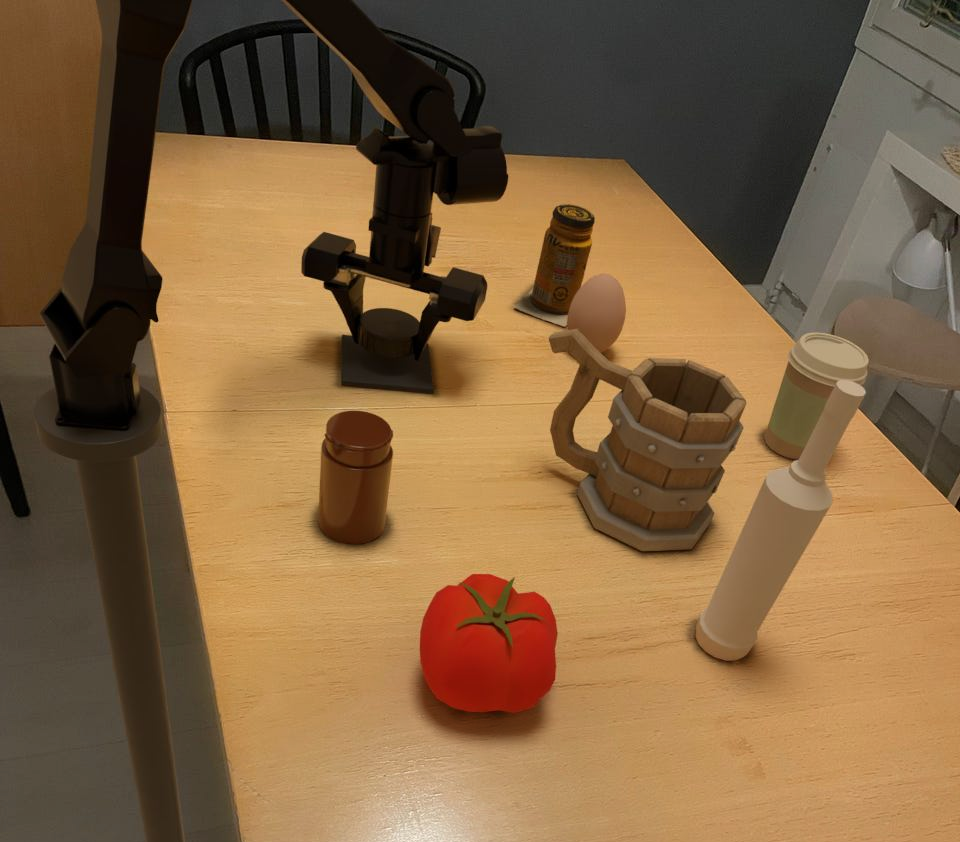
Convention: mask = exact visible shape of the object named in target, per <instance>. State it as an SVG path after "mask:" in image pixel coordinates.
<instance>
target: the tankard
mask: <svg viewBox="0 0 960 842" xmlns="http://www.w3.org/2000/svg"><path fill="white" fill-rule="evenodd" d="M548 342H549V345H550V348H551V352H552V353H554V354H560V353H566V352H569V354H570V355H571V356H572V357H573V358H574V360H575V361H576V363H577V364H578V368H577V370H576V374H575V376H574V379H573V381H572V384H571V386H570V389H569V390H568V392H567V393H566V394H565V396H564V397H563V398H562V400H561V401H560V403H558V405H557V406H556V407H555V409H554V410H553V414H552V418H551V423H550V428H549V432H550V436H551V440H552V444H553V448H554V452H555V456H556V457H558V458H559V459H561V460H562V461H564V462H565V463H567V464H569V465H570V466H571V467H573V468H574V469H576V470H578V471H582V472H584V473H587V475H586V476H585V477H584V478H583V479H582V480H581V482H579V485H578V489H577V492H576V495H577V496H578V499H579V500H580V502H581V505H582V506H583V508H584V510H585V513H586V514H587V516H588V518H589V520H590V523H591V525H592V527H593V528H594V529H596V530H597V531H600V532H602V533H603V534H606V535H608V536H610V537H612V538H613V539H616V540H618V541H620V542H622V543H624V544H626V545H628V546H630V547H631V548H634V549H636V550H638V551H640V552H656V551H657V552H660V551H681V550H692V549H693V548H694V547H695V545H696V544H697V542H698V541H699V540H700V538H701V536H702V535H703V534H704V533H705V531H706V530H707V529H708V527H709V526H710V524H711V522H712V520H713V518H714V516H715V512H714V509H713V508H712V507H711V505H710V503H709V501H710V499H711V498H712V496H713V495H714V494H716V493H717V491H718V488H719V486H720V483H721V481H722V479H723V476H724V474H725V472H726V470H725V468H724V467H723V466H722V465H723V464H724V462H725V461H726V460H727V458H728V457H729V455H730V454H732V452H734V451H735V450H736V447H737V444H738V442H739V439H740V438H741V435H742V432H743V430H744V428H745V427H744V425H743V424H742V422H741V418H742V415H743V413H744V410H745V408H746V406H747V400H746V399H745V397H744V396H743V395H742V393H741V392H740V391H739V389H738V388H737V387H736V386H735V384H734V383H733V382H732V380H731V379H730V378H729V377H728V376H727V377H726V374H724V373H721V372H719V371H716V370H714V369H712V368H709V367H707V366H705V365H703V364H700V363H698V362H695V361H693V360H691V359H688V360H687V362H686V358H667V357H665V358H663V357H661V358H660V357H649V358H646V359H644V360H643V361H641V363H639V364H638V365H637V366H636V367H635V368H634V369H633V370H632V369H629V368H628V367H625V366H622V365H620V364H617V363H615V362H612V361H610V360H609V359H607V357H606V356H604V355H603V354H602V352H599V351H598V350H597V349H596V348H595V347H594V346H593V345H592V344H591V343H590V342H589V341H588V340H587V339H586V337H585V336H584V335H583V334H582V333H581V332H580V331H579V330H578V329H573V330H568V329H567V330H562V331H554V332H553V333H551V334H550V335H549V336H548ZM600 381H603V382H605V383H607V384H609V385H610V386H612V387H614V388H617V389H619V390H620V391H619V392H618V393H617V394H616V395H615V396H614V397H613V399H612V402H611V405H610V406H611V407H610V409H609V412H608V415H607V418H608V420H609V422H610V423H611V425H612V426H611V430H610V432H609V433H608V434H607V435H606V436H605V437H604V438H603V439H601V441H600V442H599V444H598V448H597V451H594V450H591V449H587V448H585V447H583V446H582V445H580V444H579V443H577V441H576V439H575V434H574V428H575V423H576V419H577V417H578V416H579V415H580V414H581V412H582V411H583V410H584V409H585V408H586V406H587V405H588V404H589V402H590V401H591V400H592V399H593V397H594V394H595V392H596V389H597V387H598V384H599V382H600Z"/></svg>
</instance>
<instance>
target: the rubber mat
mask: <svg viewBox="0 0 960 842" xmlns="http://www.w3.org/2000/svg"><path fill="white" fill-rule="evenodd" d="M429 346H430V345H429V343H427V345H426V347H425V349H424V351H423V353H422V355H421V357H420V358H419V360H418V361H416V360H415V359H414V358H415V353H414V354H413V355H411V356H408V357H404V358H386V357H382V356H378V355H375V354H372V353H370V352H368V351H367V350H365V349H364V348H363V347H362V346H361V345H360V344H356V343H355V342H354V339H353V337H352V334H351V335H350V334H341V350H340V351H341V352H340V353H341V355H340V356H341V358H340V359H341V364H340V365H341V368H340V369H341V370H340V371H341V372H340V373H341V375H340V376H341V378H340V381H341V382H340V384H341V386H344V387H355V388H365V389H377V390H378V389H379V390H387V391H388V390H389V391H397V392H409V393H410V392H412V393H420V394H421V393H422V394H432V395H433V394H434V393H435V392H434V391H435V387H434V386H435V385H434V380H433V370H432V363H431V355H430V347H429Z"/></svg>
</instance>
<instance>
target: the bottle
mask: <svg viewBox="0 0 960 842" xmlns="http://www.w3.org/2000/svg"><path fill="white" fill-rule="evenodd" d="M866 392H867V391H866V389H865V388H864V387H863V386H862V385H859V384H857V383H855V382H852V381H849V380H839V381H838V382H837V383H836V385H835V387H834V389H833V391H832V393H831V395H830V397H829V399H828V401H827V403H826V405H825V409H824V411H823V413H822V415H821V417H820V419H819V421H818V423H817V425H816V427H815V429H814V430H813V432H812V434H811V436H810V438H809V440H808V442H807V444H806V446H805V448H804V450H803V452H802V454H801V456H800V458H799V460H798V459H795V460H794V461H792V462H791V463H790V465H789V466H788V465H787V466H784V467H779V468H776V469H773V470H770V471H769V472H768V473H767V474H766V476H765V478H764V479H763V482H762V484H761V486H760V489H759V491H758V493H757V496H756V498H755V499H754V502H753V505H752V507H751V509H750V511H749V513H748V516H747V517H746V520H745V522H744V524H743V527H742V529H741V531H740V533H739V536H738V539H737V540H736V543H735V544H734V547H733V549H732V551H731V554H730V556H729V558H728V561H727V563H726V565H725V566H724V569H723V571H722V574H721V576H720V579H719V580H718V583H717V585H716V587H715V590H714V591H713V594H712V596H711V599H710V601H709V602H708V606H707V607H706V608H705V609H704V610H703V611H702V612H701V614H700V615H699V617H698V620H697V622H696V625H695V639H696V641H697V644H698V646H699V647H700V648H701V649H702V650H703V651H704V652H705V653H707V654H708V655H709V656H712V657H714V658H715V659H719V660H722V661H728V662H729V661H737V660H740V659H742V658H744V657H746V656H747V655H748V654H749V652H750V651H751V649H752V648H753V647H754V646H755V644H756V642H757V640H758V632H759V630H760V629H761V627H762V625H763V623H764V622H765V620H766V619H767V617H768V615H769V613H770V611H771V610H772V608H773V606H774V604H775V603H776V601H777V599H778V597H779V596H780V593H781V592H782V591H783V589H784V587H785V586H786V583H787V582H788V580H789V578H790V577H791V576H792V573H793V571H794V570H795V568H796V567H797V565H798V563H799V561H800V560H801V558H802V556H803V554H804V553H805V551H806V550H807V547H808V546H809V544H810V543H811V540H812V539H813V537H814V535H816V533H817V530H818V529H819V527H820V525H821V524H822V522H823V520H824V518H825V516H826V515H827V513H828V512H829V510H830V509H831V506H832V504H833V503H834V497H833V496H834V495H833V492H832V491H831V489H830V487H829V485H828V483H827V481H826V479H827V473H826V469H827V467H828V465H829V463H830V461H831V459H832V457H833V456H834V453H835V451H836V449H837V448H838V445H839V443H840V442H841V440H842V438H843V436H844V435H845V432H846V430H847V428H848V426H849V424H850V423H851V421H852V419H853V418H854V417H855V415H856V412H857V411H858V409H859V408H860V405H861V403H862V402H863V400H864V398H865V396H866V394H867V393H866Z"/></svg>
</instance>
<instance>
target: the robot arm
mask: <svg viewBox="0 0 960 842" xmlns="http://www.w3.org/2000/svg"><path fill="white" fill-rule="evenodd" d="M280 1H281V2H282V3H284V5H285V6H286V7H287V8H288V9H290V10H291V11H292V12H293V13H294V14H295V15H296V17H298V18H299V19H300V20H301V21H302V22H303V23H304V25H306V26H307V27H309V29H310V30H311V31H312V32H313V33H314V34H316V36H317V37H318V38H320V39H321V40H322V41H323V42H324V43H325V44H326V45H327V46H328V47H329V48H330V49H331V50H332V51H333V52H334V53H335V54H336V55H337V56H338V57H339V58H340V59H342V60H343V61H344V63H345V64H346V66H347V67H348V69H349V70H350V72H351V73H352V75H353V77H354V79H355V80H356V82H357V84H358V86H359V88H360V89H361V91H362V92H363V93H364V94H365V96H366V97H367V99H368V100H369V102H370V103H371V104H372V106H373V107H374V108H375V109H376V111H377V112H378V113H379V114H380V115H381V116H382V117H383V118H385V120H387V121H388V122H390V123H391V124H392V125H394V126H395V127H396V128H398V129H399V130H400V131H402V133H404V134H405V135H403V136H398V135H397V136H396V135H395V136H389V135H388V134H387V133H385V132H384V131H383V130H382V129H380V127H377V126H375V127H374V128H373V129H372V131H371V132H370V133H369V134H368V135H366V136H365V137H363V138H362V139H361V140H360V141H359V142H358V143H356V146H355V149H356V151H357V152H358V153H359V154H360V155H361V156H363V157H364V158H365V159H366V160H368V161H369V162H370V163H371V164H372V165H374V166H375V178H374V179H375V180H374V191H373V201H372V202H373V205H372V216H371V217H370V218H369V219H368V232H370V240H369V242H370V243H369V253H368V254H369V255H363V254H359V253H357V243H356V242H355V240H354V239H352V238H349V237H345V236H342V235H338V234H335V233H334V234H333V233H330V232H326V231H322V233H320V234H318V235H317V236H316V238H315V239H313V240H312V241H311V242H310V243H309V244H308V245H307V246H306V247H305V248H304V249H303V252H302V255H301V268H300V270H301V272H300V273H301V275H303V277H306V278H310V279H312V280H318V281H320V282H323V284H322V286H323V287H322V288H323V289H324V290H326V291H330V292H331V294H332V296H333V297H334V299H335V301H336V303H337V305H338V307H339V309H340V310H341V313H342V315H343V318H344V319H345V322H346V325H347V327H348V330H349V332H350V334H351V336H352V337H353V339H354V342H355V343H356V344H359V342H358V338H357V333H358V323H359V318H360V316H361V315H362V313H364V289H365V288H364V287H365V282H366V278H369V279H373V280H376V281H381V282H384V283H387V284H392V285H395V286H398V287H402V288H405V289H409V290H412V291H415V292H420V293H424V294H427V295H429V297H428V300H429V301H428V302H427V303H426V305H425V307H424V308H423V309H422V311H421V315H420V320H419V322H420V324H419V330H418V335H417V340H416V345H415V358H414V359H415V360H416V361H418V360H419V358H420V357H421V355H422V353H423V351H424V349H425V347H426V345H427V343H428V342H429V341H430V339H431V338H432V337H431V336H432V334H433V333H434V330H435V329H436V326H437V325H438V324H439V322H441V323H449V322H451V320H452V318H454V319H458V320H461V321H464V322H473V321H474V320H475V318H476V317H477V315H478V314H479V312H480V310H481V308H482V307H483V305H484V303H485V301H486V297H487V292H488V291H487V290H488V282H487V279H486V278H485V276H484V275H483V274H480V273H476V272H472V271H468V270H465V269H462V268H458V267H454V266H452V267H451V269H450V271H449V272H448V273H447V274H446V275H442V276H439V275H435V274H433V273H429V272H426V271H425V267H430V265H431V264H432V261H433V259H435V258H436V254H437V251H438V244H439V240H440V235H441V232H442V231H441V230H442V227H441V226H438V225H434V224H433V212H432V207H433V199H434V194H435V195H436V196H437V198H438V199H439V200H440V202H441V203H442V204H444V205H446V206H457V205H468V204H469V205H471V204H481V203H483V204H484V203H495V202H498V201H499V200H501V199H502V197H503V196H504V194H505V192H506V190H507V187H508V183H509V173H508V165H507V159H506V155H505V152H504V150H503V147H502V146H501V145H502V139H503V134H502V132H500V131H499V130H497V129H496V128H495V127H493V126H492V125H481V126H478V127H475V128H463V126H462V123H461V122H460V120H459V118H458V115H457V113H456V110H455V98H456V95H457V94H456V91H455V87H454V85H452V83H451V81H450V80H449V78H448V77H446V76H445V75H444V74H442V73H441V72H440V71H438V70H437V69H435V68H434V67H432V66H431V65H430V64H428V63H426V62H425V61H423V60H422V59H421V58H419V57H418V56H416V55H415V54H413V53H412V52H411V51H409V49H408V50H407V49H406V48H404V46H402V45H400V44H398V42H396V41H395V40H393V39H391V38H390V37H389V36H387V35H386V34H385V33H384V31H382V29H381V28H379V27H378V25H377V24H376V23H375V22H374V21H373V20H372V19H371V18H370V17H369V16H368V15H367V13H366V12H364V10H362V8H361V7H360V6H359V5H358V4H357V3H356V2H355V1H354V0H280ZM95 3H96V4H95V5H96V9H97V14H98V20H99V25H100V30H101V51H100V61H99V69H98V70H99V71H98V83H97V94H96V104H95V105H96V106H95V115H94V116H95V117H94V125H93V126H94V127H93V129H94V130H93V137H92V148H91V159H90V160H91V161H90V170H89V181H88V192H87V202H86V203H87V204H86V215H85V221H84V225H83V226H82V228H81V230H80V232H79V233H78V235H77V237H76V238H75V240H74V241H73V243H72V245H71V246H70V249H69V252H68V256H67V258H66V259H67V260H66V263H65V266H64V270H63V274H62V278H61V283H60V286H61V287H60V288H59V289H58V291H57V292H56V293H55V294H54V295H53V296H52V297H51V299H50V300H49V301H48V302H47V303H46V305H44V307H43V308H42V309H41V310H40V312H39V313H38V315H39V318H40V320H41V321H42V323H43V324H44V327H45V328H46V330H47V332H48V334H49V335H50V337H51V339H52V340H53V342H54V344H53V347H52V349H51V351H50V354H49V356H48V358H49V363H50V369H51V374H52V378H53V385H54V387H55V390H56V395H57V400H58V405H59V410H58V413H57V415H56V418H55V423H56V425H58V426H65V427H78V428H91V429H103V430H116V431H127V430H129V428H130V425H131V421H132V418H133V416H135V415H136V414H137V411H138V408H139V404H140V391H139V386H140V383H139V375H138V366H137V364H136V363H135V362H133V361H134V357H135V353H136V349H137V347H138V343H139V342H142V341H144V340H145V339H146V337H147V335H149V331H150V327H151V322H154V323H157V324H158V323H159V321H160V320H159V316H158V313H157V306H158V305H157V304H158V300H159V296H160V293H161V291H162V287H163V276H162V275H161V274H160V272H159V271H158V269H157V268H156V266H154V264H153V263H152V261H151V260H150V258H149V257H148V256H147V255H146V253H145V252H144V251H143V245H142V244H143V243H142V242H143V237H144V235H143V234H144V228H145V227H144V225H145V220H146V213H147V203H148V196H149V188H150V180H151V174H152V173H151V172H152V165H153V156H154V148H155V142H156V133H157V127H158V126H157V125H158V118H159V110H160V103H161V93H162V87H163V79H164V72H165V66H166V62H167V61H168V58H169V56H170V55H171V53H172V51H174V48H175V46H176V44H177V43H178V41H179V40H180V38H181V36H182V35H183V33H184V31H185V30H186V26H187V23H188V20H189V17H190V14H191V10H192V7H193V3H194V0H95ZM429 141H430V142H432V143H426V142H429ZM428 344H429V343H428Z"/></svg>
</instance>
